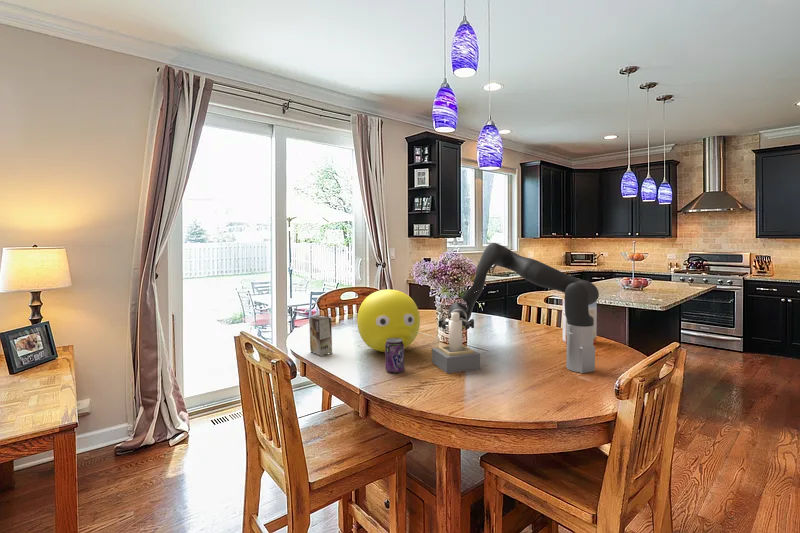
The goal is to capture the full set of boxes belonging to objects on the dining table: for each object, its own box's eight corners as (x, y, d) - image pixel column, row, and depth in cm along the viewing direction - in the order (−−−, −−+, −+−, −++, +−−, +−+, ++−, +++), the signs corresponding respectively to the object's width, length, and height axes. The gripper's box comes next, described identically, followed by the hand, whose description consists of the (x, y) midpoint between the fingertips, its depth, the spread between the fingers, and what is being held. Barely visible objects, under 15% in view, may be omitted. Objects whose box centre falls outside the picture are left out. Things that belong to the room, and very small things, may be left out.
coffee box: (333, 353, 185) (332, 317, 184) (320, 356, 181) (319, 319, 180) (322, 349, 192) (321, 314, 191) (309, 352, 188) (308, 316, 187)
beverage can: (388, 374, 157) (387, 342, 156) (383, 368, 163) (383, 338, 162) (406, 372, 158) (406, 341, 158) (401, 367, 165) (400, 337, 164)
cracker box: (592, 340, 201) (592, 297, 200) (596, 344, 195) (597, 299, 194) (561, 340, 203) (562, 297, 201) (565, 343, 197) (566, 299, 195)
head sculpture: (365, 363, 171) (363, 295, 169) (353, 345, 198) (351, 287, 196) (429, 356, 179) (428, 292, 177) (409, 341, 206) (408, 284, 204)
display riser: (480, 369, 161) (480, 351, 161) (446, 373, 157) (446, 355, 156) (463, 359, 174) (463, 342, 174) (432, 362, 170) (431, 345, 170)
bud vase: (464, 351, 164) (464, 313, 163) (452, 353, 162) (452, 314, 161) (458, 348, 169) (458, 311, 168) (446, 349, 167) (446, 312, 166)
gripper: (441, 309, 181) (436, 317, 165) (474, 310, 179) (473, 318, 163) (441, 326, 182) (437, 335, 166) (474, 327, 179) (473, 337, 163)
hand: (455, 327), depth 164 cm, fingers open, 8 cm apart
